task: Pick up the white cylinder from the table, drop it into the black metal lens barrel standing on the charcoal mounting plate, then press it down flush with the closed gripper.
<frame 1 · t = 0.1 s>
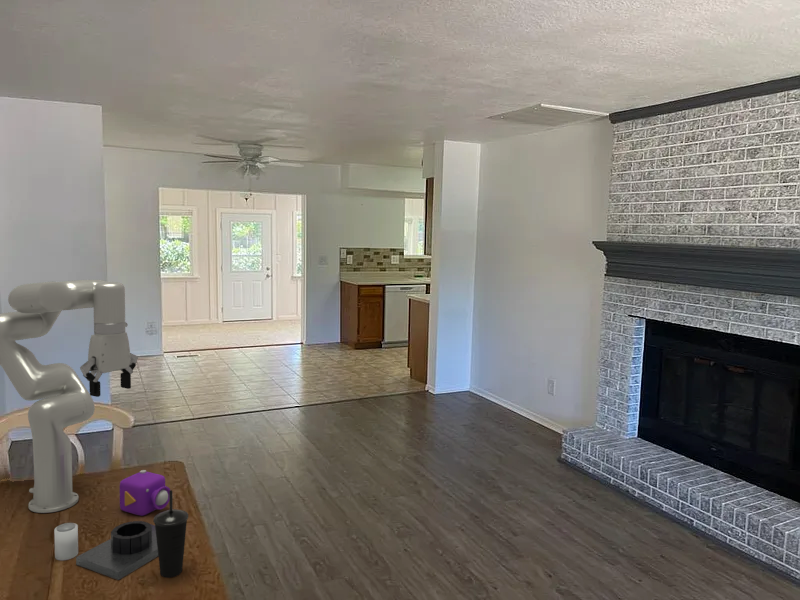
hand: (110, 391, 160), 37 cm above the table, tool pointing down, fingers open, 9 cm apart
white cylinder: (66, 554, 147), on the table
drinking cup: (171, 572, 141), on the table
lens mount: (131, 552, 149), on the table
toy camera: (147, 510, 173), on the table
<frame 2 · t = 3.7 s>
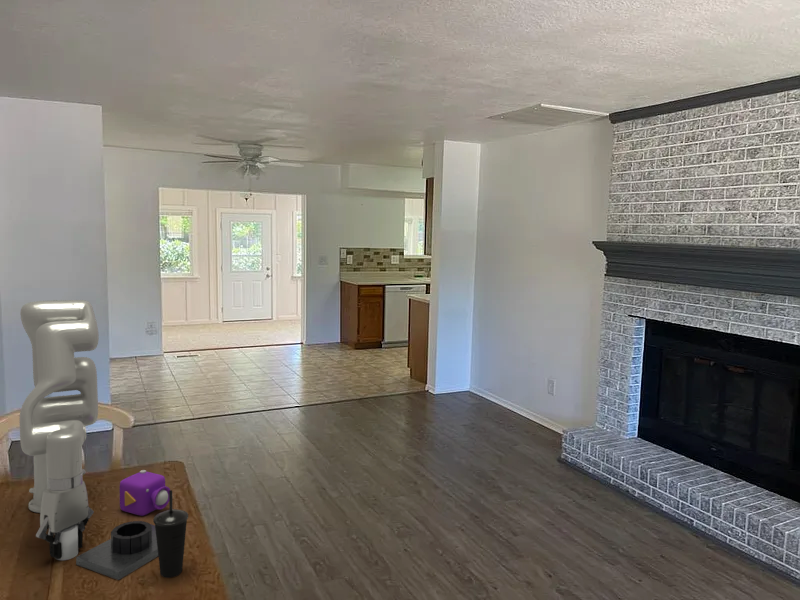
hand: (66, 551, 147), 1 cm above the table, tool pointing down, fingers closed on white cylinder, 4 cm apart
white cylinder: (66, 554, 147), on the table, touching gripper
everything else where it was.
when the fingers open (8 cm above the table, at t = 7.7 s): white cylinder drops 5 cm, resting on lens mount.
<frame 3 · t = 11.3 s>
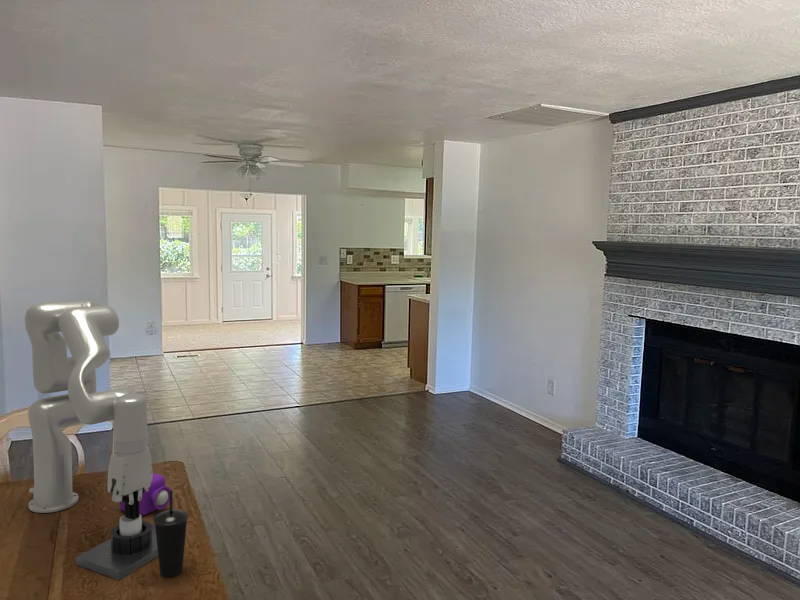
hand: (132, 517, 148), 9 cm above the table, tool pointing down, fingers closed
white cylinder: (131, 544, 149), point 2 cm above the table, touching gripper, lens mount
everything else where it was.
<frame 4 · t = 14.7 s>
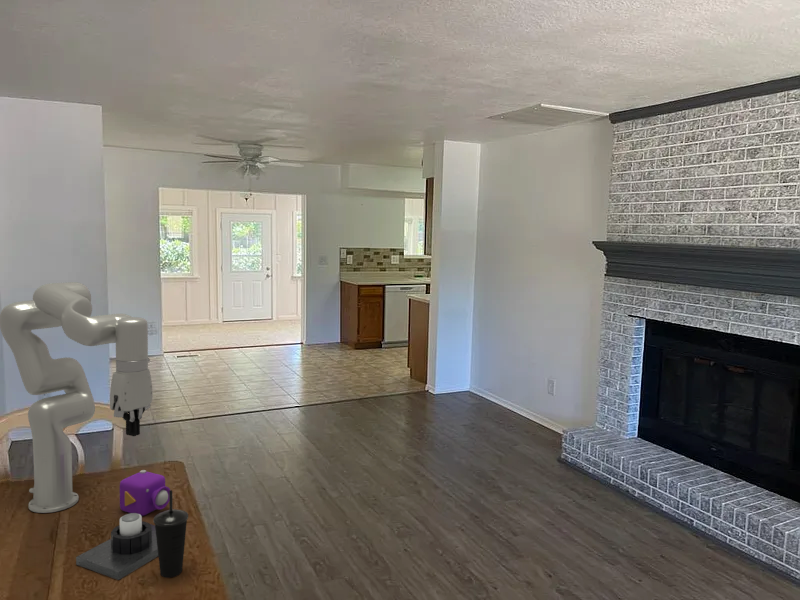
hand: (132, 434, 156), 27 cm above the table, tool pointing down, fingers closed
white cylinder: (131, 544, 149), point 2 cm above the table, touching lens mount
everything else where it was.
at the end: white cylinder 0.1 cm off-centre on the lens mount, point 2.0 cm above the lens mount's base; white cylinder tilted 1°; the gripper is holding nothing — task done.
